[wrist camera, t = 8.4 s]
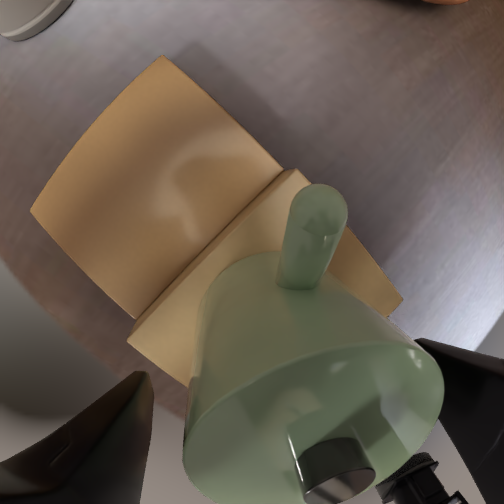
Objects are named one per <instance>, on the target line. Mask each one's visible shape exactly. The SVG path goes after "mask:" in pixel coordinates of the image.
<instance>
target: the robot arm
mask: <svg viewBox="0 0 504 504" xmlns="http://www.w3.org/2000/svg"><path fill="white" fill-rule="evenodd" d="M414 341H415V342H416V343H417V344H418V345H419V346H421V347H422V348H423V349H424V350H425V351H426V352H427V353H428V354H429V355H430V356H431V357H432V358H434V359H435V361H436V362H437V364H438V366H439V367H440V369H441V373H442V376H443V379H444V389H445V391H444V400H443V404H442V408H441V412H440V414H439V417H438V419H439V420H440V422H441V424H442V425H443V427H444V429H445V430H446V432H447V434H448V435H449V437H450V438H451V440H452V442H453V444H454V445H455V447H456V449H457V450H458V452H459V454H460V456H461V458H462V459H463V461H464V463H465V465H466V466H467V468H468V470H469V472H470V473H471V475H472V478H473V479H474V481H475V483H476V485H477V487H478V489H479V491H480V493H481V494H482V497H483V498H484V500H485V502H486V504H504V359H499V358H497V357H493V356H489V355H485V354H481V353H477V352H473V351H470V350H466V349H462V348H458V347H455V346H451V345H447V344H443V343H440V342H436V341H432V340H429V339H425V338H419V339H415V340H414ZM153 404H154V392H153V388H152V384H151V380H150V376H149V374H148V372H147V371H135V372H133V373H132V374H130V375H129V376H128V377H126V378H125V379H124V380H123V381H121V382H120V383H119V384H117V385H116V386H115V387H114V388H112V389H111V390H110V391H108V392H107V393H105V394H104V395H103V396H102V397H100V398H99V399H98V400H96V401H95V402H94V403H92V404H91V405H90V406H89V407H87V408H86V409H84V410H83V411H82V412H80V413H79V414H78V415H76V416H75V417H73V418H72V419H71V420H69V421H68V422H67V423H66V424H64V425H63V426H62V427H60V428H58V429H57V430H56V431H54V432H53V433H52V434H50V435H48V436H47V437H45V438H44V439H42V440H41V441H39V442H37V443H36V444H34V445H32V446H31V447H29V448H27V449H25V450H23V451H21V452H20V453H18V454H16V455H14V456H12V457H11V458H9V459H7V460H5V461H3V462H0V504H140V498H141V491H142V485H143V479H144V473H145V468H146V462H147V456H148V451H149V446H150V440H151V431H152V416H153ZM438 464H439V463H438V461H436V462H434V463H432V464H430V465H427V466H425V467H423V468H421V469H419V470H417V471H414V472H412V473H410V474H408V475H405V476H403V477H400V478H398V479H397V480H395V482H394V483H393V485H392V487H391V488H390V490H389V491H388V493H387V494H386V496H385V498H384V499H383V501H382V503H383V504H386V503H388V502H391V501H394V503H395V504H456V503H457V502H458V503H459V504H468V502H467V501H466V500H465V498H464V497H463V496H462V495H461V493H460V492H459V491H456V492H455V493H454V494H453V495H452V496H451V497H450V496H449V495H448V494H447V492H446V491H445V489H444V486H443V485H442V483H441V482H440V480H439V479H438V478H437V476H436V475H435V473H434V470H435V469H436V467H437V466H438Z"/></svg>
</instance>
